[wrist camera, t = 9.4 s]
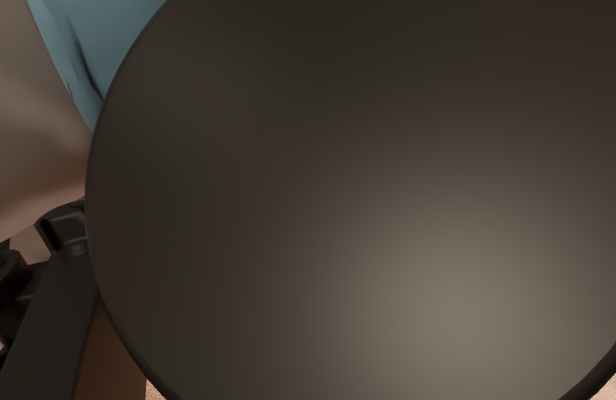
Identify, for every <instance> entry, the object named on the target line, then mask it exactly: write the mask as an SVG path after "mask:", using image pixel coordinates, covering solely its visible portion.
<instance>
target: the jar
mask: <svg viewBox="0 0 616 400" xmlns="http://www.w3.org/2000/svg"><path fill="white" fill-rule="evenodd" d="M84 212H85V229H86V238H87V244H88V251H89V257H90V262H91V266H92V270H93V274H94V278H95V282H96V285H97V288H98V290H99V293H100V296H101V299H102V302H103V305H104V307H105V309H106V312H107V314H108V316H109V318H110V320H111V322H112V325H113V327H114V329H115V331H116V333H117V334H118V336H119V338H120V340H121V341H122V343H123V345H124V346H125V348H126V350H127V352H128V353H129V355H130V356H131V358H132V359H133V360H134V362H135V363H136V365H137V366H138V367H139V369H140V370H141V371H142V373H143V374H144V376H145V377H146V378H147V379H148V380H149V381H150V382H151V384H152V385H153V386H154V387H155V388H156V389H157V390H158V391H159V393H160V394H161V395H162V396H163V397H164V398H165V399H166V400H589V399H590V398H592V397H593V396H594V395H595V394H596V393H597V392H598V391H599V390H600V389H601V388H602V387H603V386H604V385H605V384H606V383H607V382H608V381H609V380H610V378H611V377H612V376H613V375H614V374H615V373H616V0H166V1H165V2H164V3H163V4H162V6H161V7H160V8H159V9H158V10H157V11H156V12H155V14H154V15H153V16H152V17H151V19H150V20H149V21H148V22H147V24H146V25H145V26H144V28H143V29H142V30H141V32H140V33H139V35H138V36H137V38H136V39H135V41H134V42H133V44H132V45H131V47H130V48H129V50H128V51H127V53H126V55H125V57H124V59H123V60H122V62H121V64H120V66H119V67H118V69H117V71H116V73H115V75H114V78H113V80H112V82H111V84H110V86H109V88H108V91H107V93H106V96H105V98H104V101H103V104H102V106H101V109H100V112H99V115H98V118H97V122H96V125H95V129H94V132H93V136H92V140H91V145H90V150H89V155H88V161H87V170H86V179H85V199H84Z"/></svg>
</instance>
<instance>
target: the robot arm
mask: <svg viewBox="0 0 616 400" xmlns="http://www.w3.org/2000/svg"><path fill="white" fill-rule="evenodd" d="M165 1H166V0H0V400H145V396H146V382H147V378H146V377H145V376H144V374H143V373H142V371H141V370H140V369H139V367H138V366H137V365H136V363H135V362H134V360H133V359H132V358H131V356H130V355H129V353H128V352H127V350H126V348H125V346H124V345H123V343H122V341H121V340H120V338H119V336H118V334H117V333H116V331H115V329H114V327H113V325H112V322H111V320H110V318H109V316H108V314H107V312H106V309H105V307H104V305H103V302H102V299H101V296H100V293H99V290H98V288H97V285H96V282H95V278H94V274H93V270H92V266H91V262H90V257H89V251H88V244H87V238H86V229H85V212H84V199H85V179H86V170H87V161H88V155H89V150H90V145H91V140H92V136H93V132H94V129H95V125H96V122H97V118H98V115H99V112H100V109H101V106H102V104H103V101H104V98H105V96H106V93H107V91H108V88H109V86H110V84H111V82H112V80H113V78H114V75H115V73H116V71H117V69H118V67H119V66H120V64H121V62H122V60H123V59H124V57H125V55H126V53H127V51H128V50H129V48H130V47H131V45H132V44H133V42H134V41H135V39H136V38H137V36H138V35H139V33H140V32H141V30H142V29H143V28H144V26H145V25H146V24H147V22H148V21H149V20H150V19H151V17H152V16H153V15H154V14H155V12H156V11H157V10H158V9H159V8H160V7H161V6H162V4H163V3H164V2H165Z"/></svg>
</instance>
